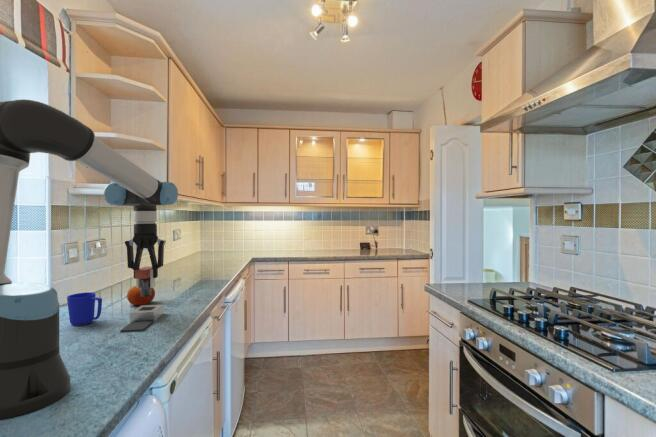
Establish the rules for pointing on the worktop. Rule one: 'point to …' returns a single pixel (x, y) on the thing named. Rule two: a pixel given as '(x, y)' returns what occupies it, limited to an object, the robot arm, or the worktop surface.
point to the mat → (136, 326)
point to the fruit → (139, 296)
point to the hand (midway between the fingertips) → (145, 287)
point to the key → (144, 280)
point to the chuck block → (146, 313)
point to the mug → (83, 308)
